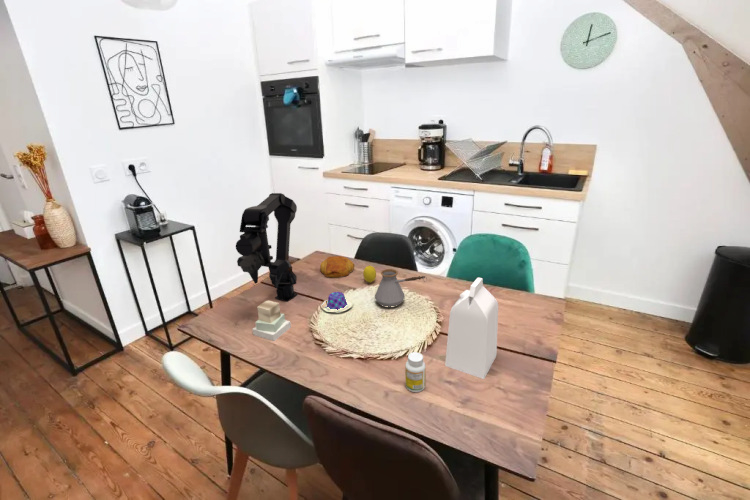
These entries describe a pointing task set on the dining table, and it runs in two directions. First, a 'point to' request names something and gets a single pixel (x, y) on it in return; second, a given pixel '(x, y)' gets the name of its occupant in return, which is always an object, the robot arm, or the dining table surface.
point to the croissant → (336, 267)
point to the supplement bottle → (415, 372)
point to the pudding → (336, 300)
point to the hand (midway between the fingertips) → (266, 285)
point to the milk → (473, 331)
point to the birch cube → (268, 311)
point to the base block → (272, 335)
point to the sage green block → (270, 324)
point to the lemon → (369, 274)
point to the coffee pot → (391, 288)
